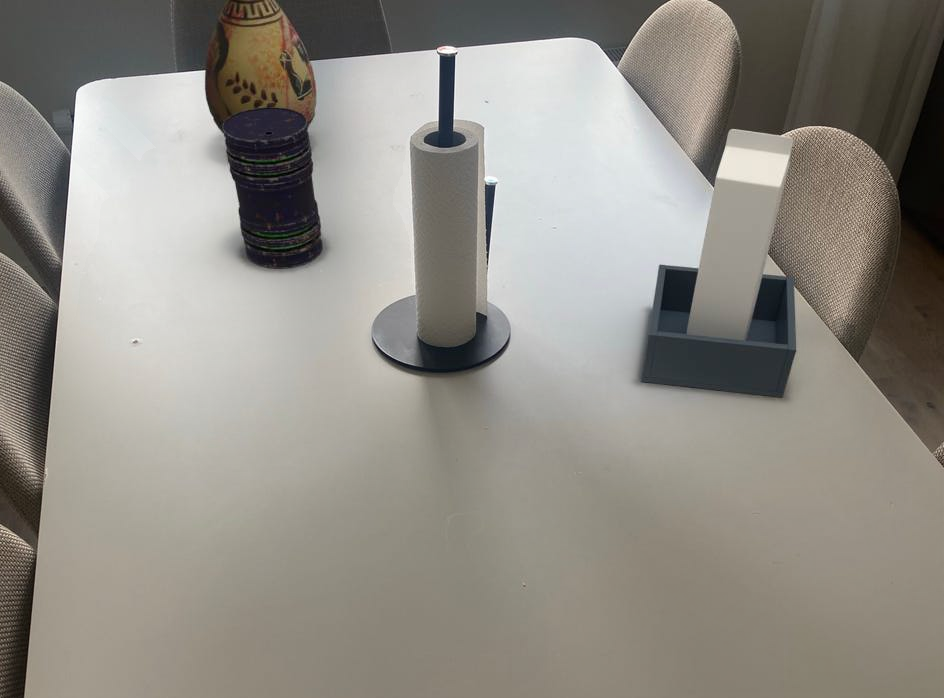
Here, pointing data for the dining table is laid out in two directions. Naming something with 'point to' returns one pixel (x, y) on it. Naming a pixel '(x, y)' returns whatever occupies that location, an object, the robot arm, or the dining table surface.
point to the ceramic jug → (257, 63)
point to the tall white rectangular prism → (739, 233)
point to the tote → (721, 339)
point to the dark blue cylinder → (274, 186)
